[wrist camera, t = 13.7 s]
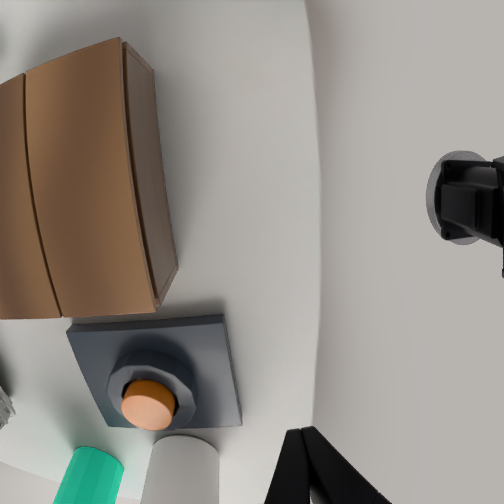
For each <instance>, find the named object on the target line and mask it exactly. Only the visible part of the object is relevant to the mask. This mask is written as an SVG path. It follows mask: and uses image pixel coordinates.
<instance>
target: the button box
mask: <svg viewBox="0 0 504 504" xmlns="http://www.w3.org/2000/svg"><path fill="white" fill-rule="evenodd" d="M66 334H67V337H68V339H69V342H70V345H71V347H72V350H73V352H74V355H75V357H76V360H77V362H78V364H79V367H80V369H81V371H82V374H83V376H84V378H85V380H86V383H87V385H88V387H89V389H90V391H91V393H92V395H93V398H94V400H95V402H96V404H97V406H98V408H99V410H100V412H101V414H102V416H103V417H104V419H105V421H106V423H107V425H108V426H110V427H126V428H139V427H137V426H135V425H133V424H132V423H131V422H129V421H128V420H127V419H126V418H125V416H124V415H123V413H122V410H121V403H122V400H123V398H124V395H125V393H126V390H127V388H128V386H129V385H130V384H131V383H132V382H134V381H136V380H140V379H148V380H153V381H156V382H159V383H161V384H163V385H164V386H166V387H167V388H168V389H169V390H170V391H171V392H172V394H173V396H174V398H175V407H174V412H173V417H172V421H171V423H170V425H169V426H168V427H166V428H165V429H162V430H175V429H185V428H212V427H228V426H241V425H242V414H241V409H240V403H239V398H238V393H237V387H236V382H235V376H234V370H233V365H232V359H231V353H230V347H229V341H228V335H227V329H226V323H225V317H224V314H220V315H210V316H200V317H188V318H177V319H164V320H151V321H136V322H120V323H101V324H77V325H71V326H70V328H69V329H68V330H67V331H66Z"/></svg>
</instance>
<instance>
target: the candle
mask: <svg viewBox="0 0 504 504" xmlns="http://www.w3.org/2000/svg"><path fill="white" fill-rule="evenodd" d="M123 471H124V468H123V467H122V465H121V464H120V462H119V461H118V460H116V459H115V458H113V457H112V456H111V455H109V454H108V453H105V452H103V451H101V450H98V449H96V448H92V447H84V446H82V447H80V448H77V449H76V450H75V452H74V454H73V456H72V459H71V461H70V463H69V466H68V468H67V470H66V473H65V475H64V478H63V480H62V482H61V485H60V487H59V490H58V492H57V495H56V497H55V500H54V503H53V504H115V501H116V497H117V493H118V489H119V486H120V482H121V478H122V475H123Z"/></svg>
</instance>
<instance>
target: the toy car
mask: <svg viewBox="0 0 504 504" xmlns="http://www.w3.org/2000/svg"><path fill="white" fill-rule="evenodd" d="M15 414H16V412H15V410H14V408H13V406H12V401H11V399H10V398H9V396H8V395H7V394H6V393H5V392H4V391H3V389H2V388H1V386H0V430H1V429H2V427H3V426H4V425H5V424H8V418H9V417H11V416H14V415H15Z"/></svg>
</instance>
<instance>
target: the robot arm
mask: <svg viewBox="0 0 504 504" xmlns="http://www.w3.org/2000/svg"><path fill="white" fill-rule="evenodd" d="M446 164H447V165H448V167H447V168H446ZM490 166H491V168H490ZM446 232H447V235H446ZM441 237H442V238H443V239H444V240H454V239H461V238H469V237H477V238H480V239H482V240H485V241H487V242H490V243H492V244H494V245H496V246H499V247H501V248H503V269H502V277H503V278H504V156H503V157H500V158H496V159H493V162H489V161H468V160H443V161H442V162H441ZM310 496H311V499H312V503H313V504H392V503H390V502H389V501H388V500H387V499H386V498H385V497H384V496H383V495H381V493H378V491H377V490H376V489H375V488H374V487H373V486H372V485H371V484H370V483H369V482H368V481H367V480H366V479H365V478H364V477H363V476H362V475H361V474H360V473H359V472H358V471H357V470H356V469H355V468H354V467H353V466H352V465H351V464H350V463H349V462H348V461H347V460H346V459H345V458H344V457H343V456H342V455H341V454H340V453H339V452H338V451H337V450H336V449H335V448H334V447H333V446H332V445H331V444H330V443H329V442H328V441H327V440H326V438H325V437H324V436H323V435H322V434H321V433H320V432H319V431H318V430H317V429H316V428H315V427H314V426H310V427H304V428H301V430H300V429H298V428H297V429H291V430H287V432H286V435H285V439H284V442H283V445H282V449H281V452H280V455H279V459H278V462H277V465H276V469H275V472H274V475H273V478H272V481H271V484H270V487H269V490H268V493H267V496H266V499H265V502H264V504H310Z"/></svg>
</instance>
